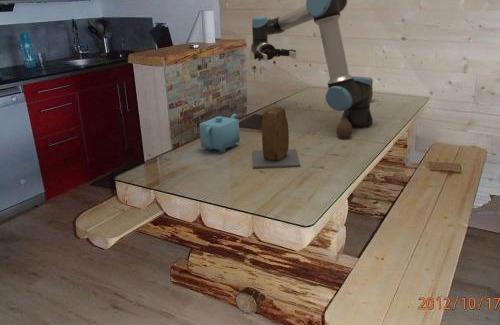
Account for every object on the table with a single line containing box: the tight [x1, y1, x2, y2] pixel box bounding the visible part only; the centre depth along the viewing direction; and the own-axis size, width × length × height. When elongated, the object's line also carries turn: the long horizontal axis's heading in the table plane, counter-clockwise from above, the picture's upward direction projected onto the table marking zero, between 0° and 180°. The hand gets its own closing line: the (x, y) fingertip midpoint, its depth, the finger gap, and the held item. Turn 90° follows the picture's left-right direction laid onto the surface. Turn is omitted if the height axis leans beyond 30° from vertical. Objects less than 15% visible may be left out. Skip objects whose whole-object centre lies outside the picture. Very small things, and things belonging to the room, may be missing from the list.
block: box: [261, 106, 290, 161], centre depth 176 cm, size 11×8×20 cm
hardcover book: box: [239, 113, 263, 134], centre depth 225 cm, size 16×23×2 cm
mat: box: [252, 148, 301, 170], centre depth 179 cm, size 18×18×1 cm
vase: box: [336, 117, 353, 140], centre depth 200 cm, size 7×7×9 cm
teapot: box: [198, 113, 240, 153], centre depth 194 cm, size 22×11×14 cm, turn 147°
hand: (280, 56), depth 200 cm, fingers open, 13 cm apart
